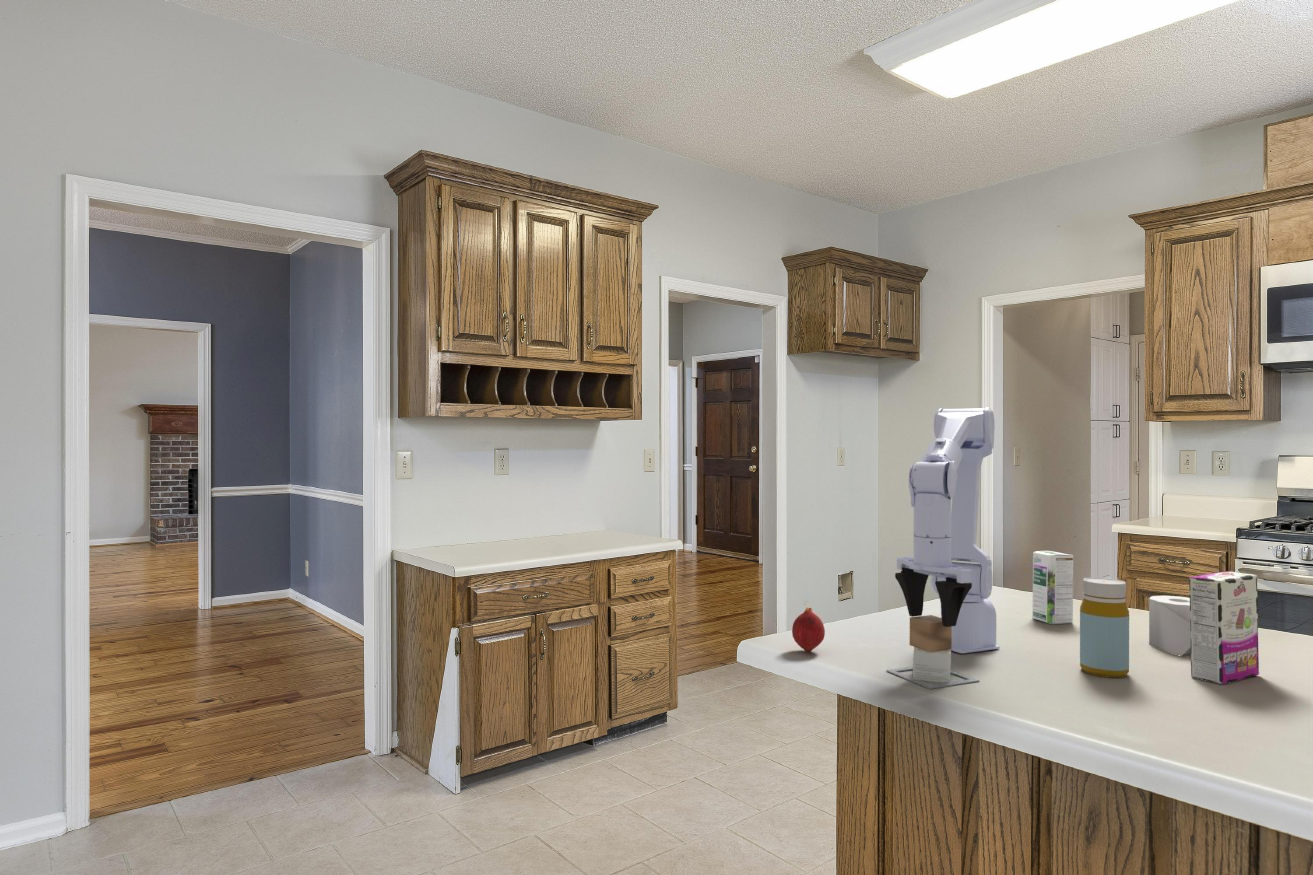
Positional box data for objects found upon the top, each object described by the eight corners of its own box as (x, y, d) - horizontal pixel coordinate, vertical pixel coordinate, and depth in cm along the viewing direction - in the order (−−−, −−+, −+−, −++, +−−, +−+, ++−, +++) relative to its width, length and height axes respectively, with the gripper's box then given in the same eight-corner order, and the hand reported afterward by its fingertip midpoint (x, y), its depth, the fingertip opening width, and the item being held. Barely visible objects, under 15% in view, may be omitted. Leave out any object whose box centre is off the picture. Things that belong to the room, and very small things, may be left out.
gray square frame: (933, 664, 132) (933, 663, 132) (979, 681, 123) (979, 680, 123) (886, 671, 128) (886, 670, 128) (929, 689, 119) (929, 687, 119)
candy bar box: (1225, 668, 131) (1225, 570, 131) (1260, 675, 127) (1260, 574, 127) (1187, 676, 126) (1187, 575, 126) (1221, 685, 122) (1221, 580, 122)
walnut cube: (931, 642, 129) (931, 614, 129) (951, 649, 125) (951, 620, 125) (909, 645, 127) (909, 617, 127) (929, 652, 123) (929, 623, 123)
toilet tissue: (1180, 658, 137) (1181, 609, 137) (1139, 639, 150) (1139, 594, 150) (1235, 660, 136) (1235, 610, 136) (1188, 640, 149) (1189, 595, 150)
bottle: (1123, 668, 131) (1123, 578, 131) (1133, 680, 124) (1133, 585, 124) (1076, 664, 133) (1076, 576, 133) (1084, 676, 126) (1084, 583, 126)
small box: (950, 684, 122) (950, 653, 122) (912, 680, 124) (912, 649, 124) (950, 674, 127) (950, 644, 127) (913, 670, 129) (913, 641, 129)
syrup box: (1031, 618, 168) (1031, 550, 168) (1054, 617, 169) (1054, 550, 169) (1050, 624, 162) (1050, 554, 162) (1074, 623, 164) (1074, 553, 164)
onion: (824, 657, 137) (825, 611, 137) (791, 655, 138) (791, 609, 138) (824, 648, 143) (824, 604, 143) (792, 646, 144) (792, 603, 144)
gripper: (882, 532, 131) (882, 613, 131) (946, 542, 118) (945, 633, 118) (915, 530, 134) (915, 609, 134) (981, 540, 120) (981, 628, 120)
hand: (932, 620), depth 126 cm, fingers open, 7 cm apart
